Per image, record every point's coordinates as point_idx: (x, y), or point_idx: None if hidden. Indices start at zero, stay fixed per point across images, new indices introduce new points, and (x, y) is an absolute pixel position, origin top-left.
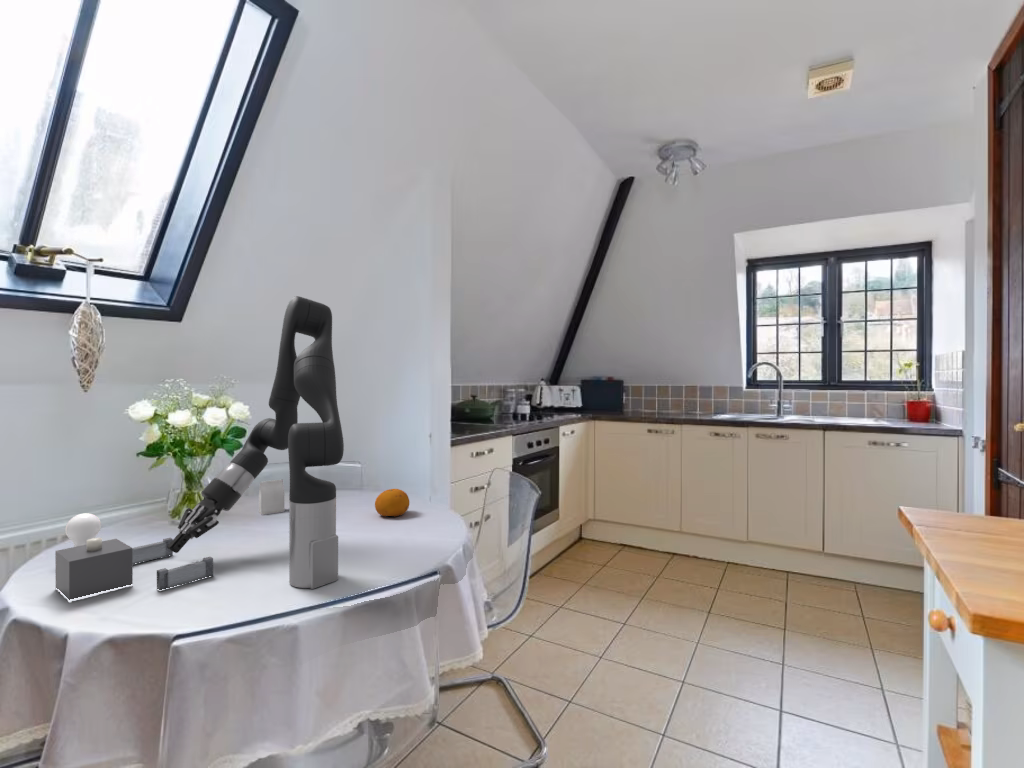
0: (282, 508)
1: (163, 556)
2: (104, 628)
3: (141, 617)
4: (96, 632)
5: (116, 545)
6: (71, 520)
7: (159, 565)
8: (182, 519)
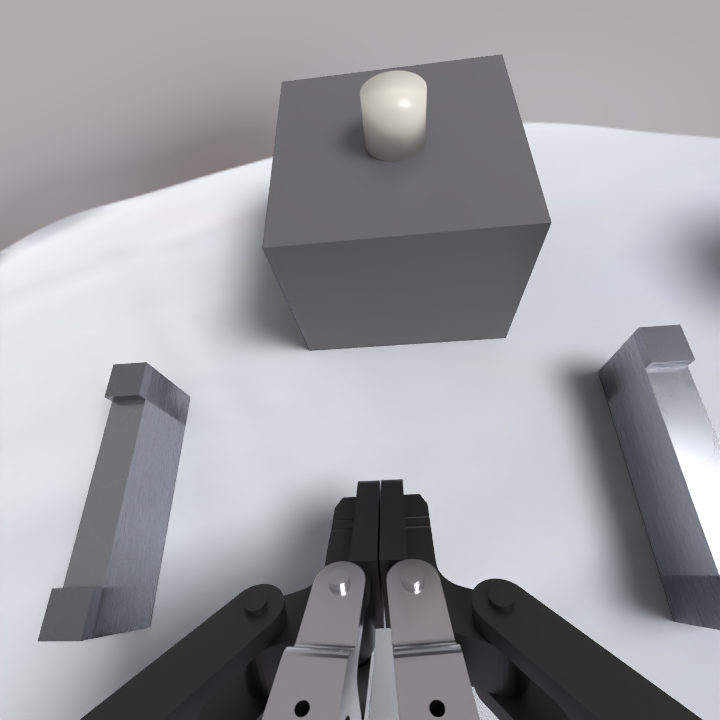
0: None
1: (660, 562)
2: (59, 246)
3: (29, 314)
4: (56, 233)
5: (382, 205)
6: None
7: (512, 499)
8: (601, 670)
